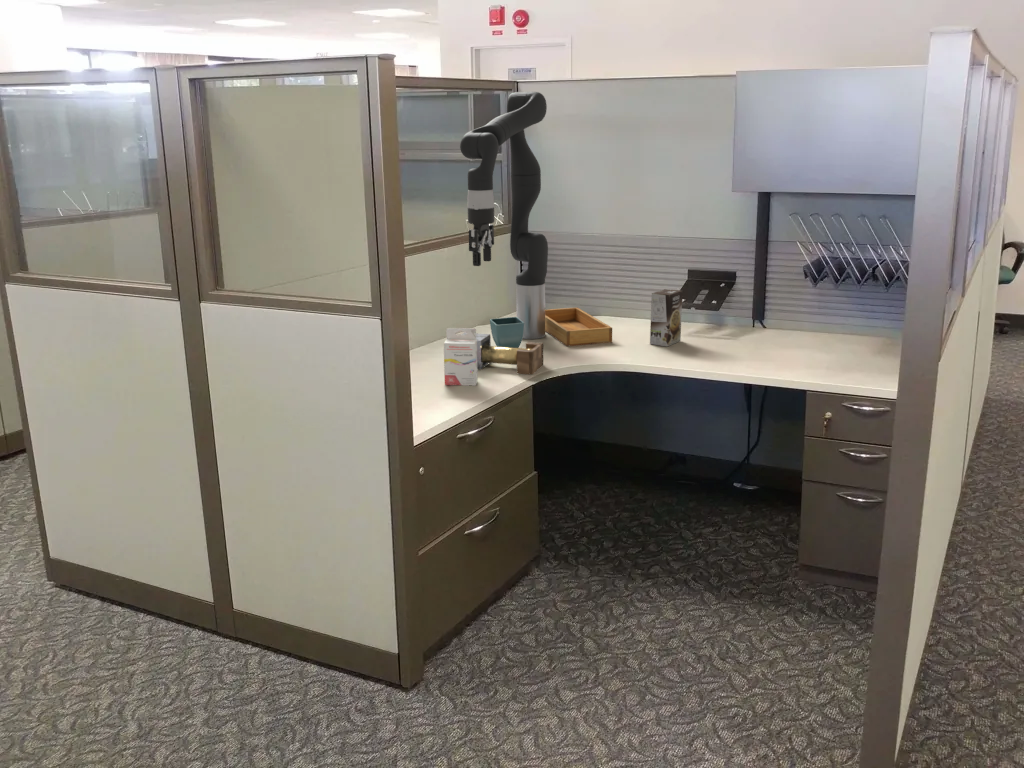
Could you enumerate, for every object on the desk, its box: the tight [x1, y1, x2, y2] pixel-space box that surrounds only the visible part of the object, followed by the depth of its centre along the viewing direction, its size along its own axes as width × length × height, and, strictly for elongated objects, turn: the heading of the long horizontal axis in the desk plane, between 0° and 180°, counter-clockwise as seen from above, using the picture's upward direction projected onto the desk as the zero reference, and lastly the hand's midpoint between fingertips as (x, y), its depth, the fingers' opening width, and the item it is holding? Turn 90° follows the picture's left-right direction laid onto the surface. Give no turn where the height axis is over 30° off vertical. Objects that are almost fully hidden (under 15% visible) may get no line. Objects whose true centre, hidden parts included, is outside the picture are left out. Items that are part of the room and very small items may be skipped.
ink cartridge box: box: [443, 327, 478, 386], centre depth 243 cm, size 9×5×15 cm, turn 86°
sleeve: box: [460, 332, 492, 370], centre depth 262 cm, size 8×8×8 cm
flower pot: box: [489, 316, 524, 348], centre depth 279 cm, size 9×9×9 cm
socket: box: [516, 341, 544, 376], centre depth 257 cm, size 10×4×6 cm, turn 161°
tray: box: [545, 306, 613, 347], centre depth 298 cm, size 31×15×6 cm, turn 17°
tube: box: [482, 345, 532, 366], centre depth 259 cm, size 16×5×5 cm, turn 71°
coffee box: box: [649, 288, 684, 347], centre depth 283 cm, size 9×6×16 cm
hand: (482, 263), depth 262 cm, fingers open, 8 cm apart
